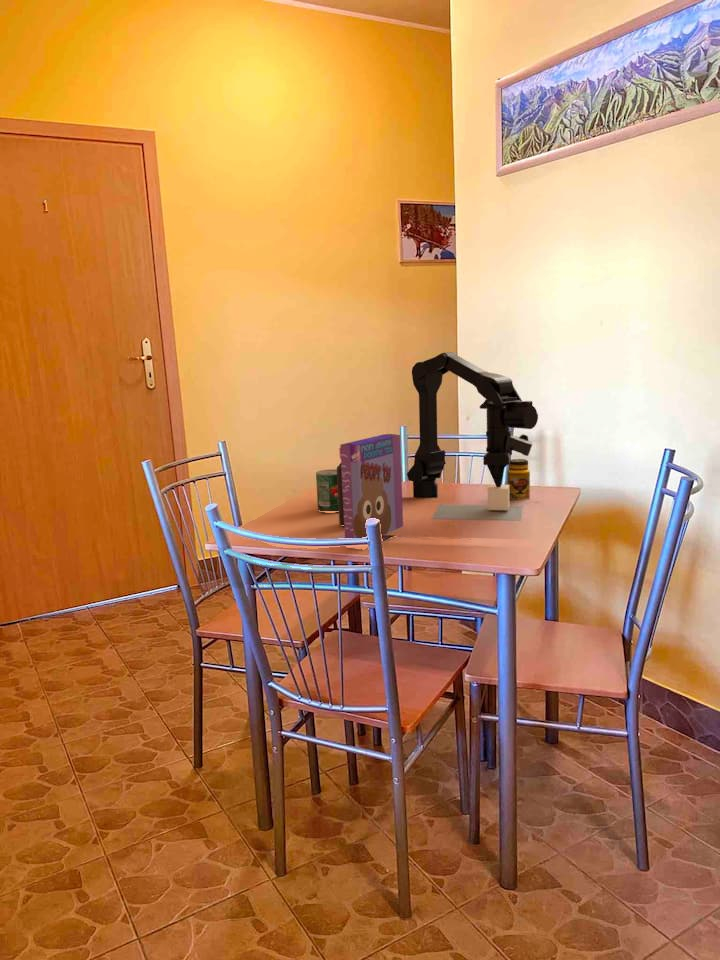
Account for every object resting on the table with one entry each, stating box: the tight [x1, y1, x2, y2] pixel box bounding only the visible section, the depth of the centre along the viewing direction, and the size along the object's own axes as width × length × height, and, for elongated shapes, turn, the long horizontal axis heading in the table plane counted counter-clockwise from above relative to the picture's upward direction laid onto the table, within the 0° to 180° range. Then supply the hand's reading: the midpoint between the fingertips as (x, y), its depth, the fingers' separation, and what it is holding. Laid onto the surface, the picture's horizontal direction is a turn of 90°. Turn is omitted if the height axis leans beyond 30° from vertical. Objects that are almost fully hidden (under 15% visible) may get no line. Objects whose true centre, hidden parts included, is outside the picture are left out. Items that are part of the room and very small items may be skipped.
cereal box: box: [339, 433, 404, 542], centre depth 165 cm, size 17×5×24 cm, turn 145°
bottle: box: [336, 447, 344, 525], centre depth 180 cm, size 7×7×20 cm
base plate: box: [431, 503, 524, 522], centre depth 183 cm, size 22×16×2 cm
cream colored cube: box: [487, 484, 510, 510], centre depth 184 cm, size 5×5×6 cm
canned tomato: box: [315, 469, 339, 511], centre depth 198 cm, size 8×8×11 cm
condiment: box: [506, 458, 537, 503], centre depth 198 cm, size 7×8×12 cm
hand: (498, 486), depth 184 cm, fingers closed, pressing on cream colored cube
